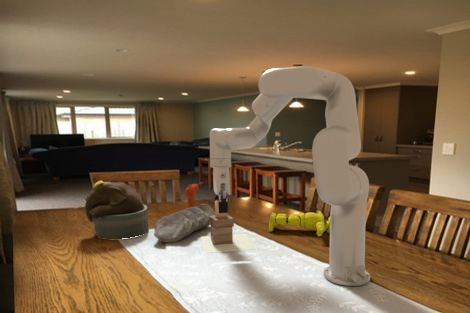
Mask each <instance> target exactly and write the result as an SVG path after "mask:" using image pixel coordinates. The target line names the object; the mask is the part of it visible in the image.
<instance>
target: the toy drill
mask: <svg viewBox="0 0 470 313" xmlns="http://www.w3.org/2000/svg"><path fill="white" fill-rule="evenodd" d="M202 184H203V181H201V182H199V183H198V182H197V183H192V184H188V186H187V187H186V188H185V191H184V194H185V197H187V208H190V207H194V206H196V203H195V197H194V196H195V195H196V194H197V192H198V190H199V188H200V187H201V185H202Z"/></svg>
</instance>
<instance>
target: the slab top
mask: <svg viewBox="0 0 470 313" xmlns="http://www.w3.org/2000/svg"><path fill="white" fill-rule="evenodd" d="M234 219H235V218H234V217H232V216H231V215H229V214H227V218H224V219H218V218H215V215H213V216H209V224H210V225H209V226H210V227H211V226H212V227H214V228H215V229H218V228H226V227H232V228H233V227H234V226H235V222H234V221H235V220H234Z"/></svg>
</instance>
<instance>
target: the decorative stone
mask: <svg viewBox="0 0 470 313" xmlns="http://www.w3.org/2000/svg"><path fill="white" fill-rule="evenodd" d="M214 210H215V209H214V208H212V207H211V206H210V205H209V204H207V203H202V204H201V203H200V204H197V205H195V206H194V207H190V208H188V207H187V208H185V209H181V210H178V211H176V212H174V213H170V214H168V215H164V216H163V217H161V219H159V220H157V222H156V223H155V225H154V233H153V236H154V237H155V238H156V239H158V241H159V242H160V243H164V244H165V243H177V242H180V241H181V240H182V239H184V238H187V237H189V236H190V235H191V233H193V232H196V231H200V230H202V229H204V228H208V227H209V226H211V225H210V224H209V216H213V215H215V211H214Z"/></svg>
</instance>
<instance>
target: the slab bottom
mask: <svg viewBox="0 0 470 313" xmlns="http://www.w3.org/2000/svg"><path fill="white" fill-rule="evenodd" d="M233 235H234V234H233ZM233 235H232V236H216V237H213V235H212V233H211V232H210V236H211V241H212V243H213V245H220V244H233Z"/></svg>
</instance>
